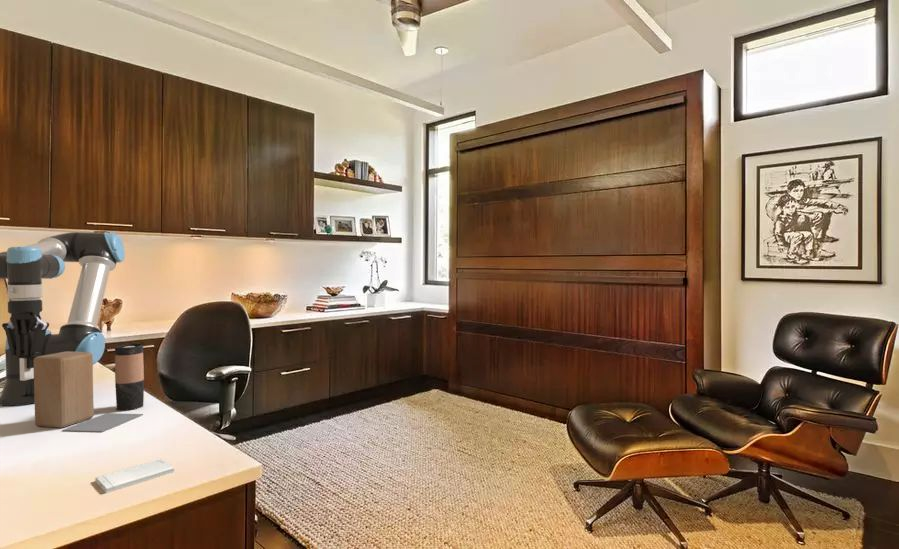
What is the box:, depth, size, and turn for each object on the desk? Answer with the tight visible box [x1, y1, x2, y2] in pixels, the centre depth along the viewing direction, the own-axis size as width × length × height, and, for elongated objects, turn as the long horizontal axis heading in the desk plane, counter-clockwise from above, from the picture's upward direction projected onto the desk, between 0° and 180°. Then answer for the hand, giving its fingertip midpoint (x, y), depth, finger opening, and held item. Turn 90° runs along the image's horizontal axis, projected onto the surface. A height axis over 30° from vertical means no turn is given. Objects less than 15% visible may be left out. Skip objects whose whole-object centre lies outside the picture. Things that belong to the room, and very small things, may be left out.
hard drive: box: [94, 458, 175, 494], centre depth 101 cm, size 2×8×12 cm
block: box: [34, 351, 95, 429], centre depth 137 cm, size 10×10×20 cm
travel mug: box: [114, 343, 145, 412], centre depth 151 cm, size 8×8×20 cm
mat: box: [61, 412, 144, 433], centre depth 136 cm, size 12×15×1 cm
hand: (26, 379), depth 138 cm, fingers closed
